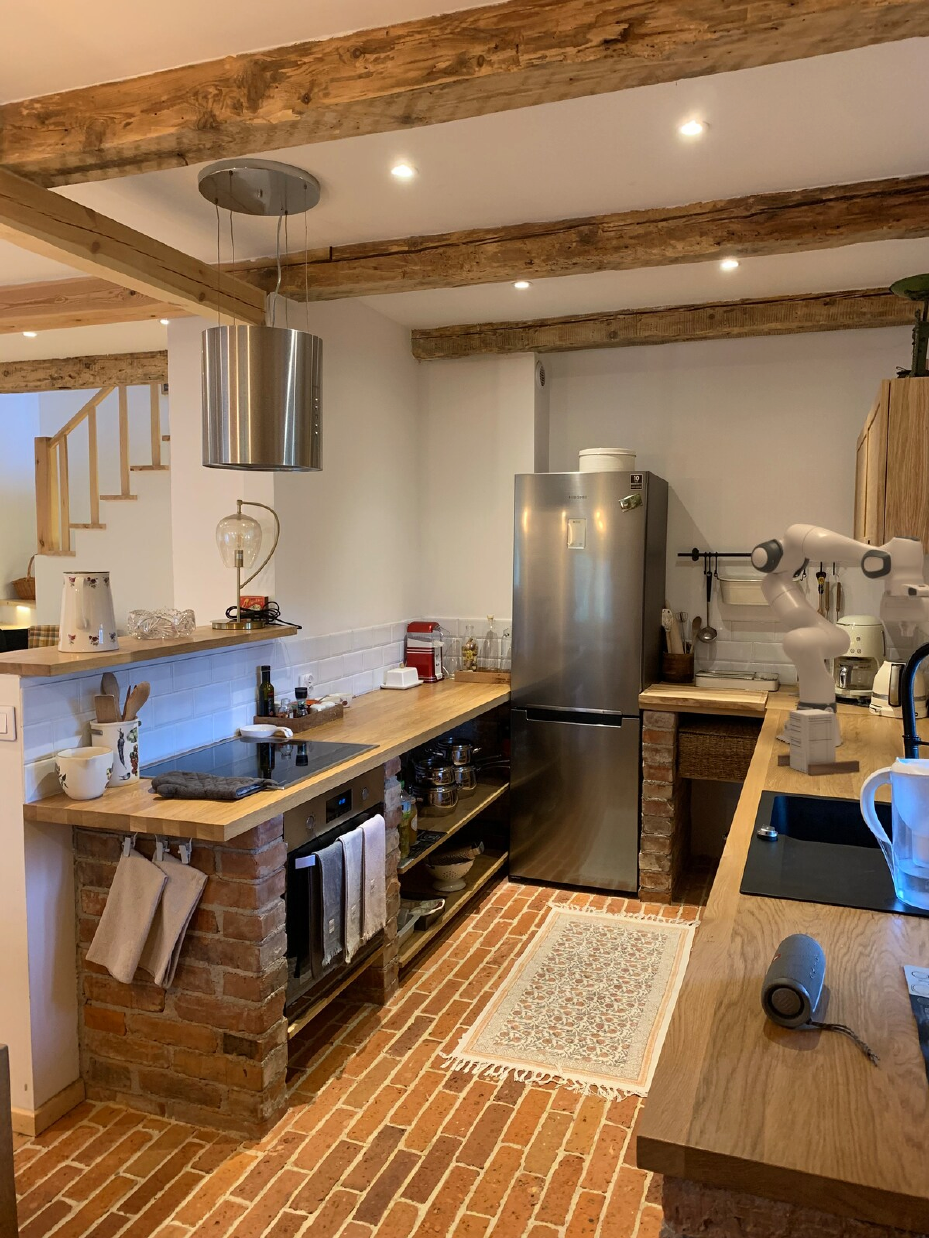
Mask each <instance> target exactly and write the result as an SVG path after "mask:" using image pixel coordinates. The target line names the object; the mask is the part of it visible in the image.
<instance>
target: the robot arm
mask: <svg viewBox="0 0 929 1238" xmlns="http://www.w3.org/2000/svg"><path fill="white" fill-rule="evenodd" d="M923 548H924V547H923V542H922V541H921V539H919V538H917V537H915V536H911V535H909V536H908V535H907V536H905V535H897V536H896V535H895V536H894V537H892V538H891V539H890V541H888V542H886V543H884V544H883V545H881V546H877V545H873V544H869V543H865V542H861V541H858V540H856V539H853V538H852V537H851V538H850V537H848V536H846V535H842V534H840V533H839V532H838V533H837V532H835V531H833V530H830V529H827V528H825V527H821V526H818V525H813V524H806V523H805V524H804V523H795V524H792V525H791V526H789V527H788V528H787V529H786V531H785V532H784V536H783V537H782V539H779V540H778V539H776V538H773V539H770V540H768V541H764V542H761V543H759V544H757V545H756V546H755V547H753V549H752V551H751V554H750V563H751V565H752V567H753V568H754V569H755V570H757V571H758V572H761V573H764V574H766V575H765V576H764V577H763V579H761V582H760V590H761V593H762V594H763V596H764V598H765V600H766V602H767V604H768V605H769V607H770V608H771V609H770V610H771V611H772V612H773V613H774V614H775V617H776V618H777V619H778V621H779V622H780V623H781V625H782V626H783V627H784V628H787V629H788V630H790V631H788V632H787V633H786V634H785V635H784V636H783V639H782V649H783V653H784V654H785V656H787V657H788V658H789V660H791V662H792V663H793V665H794V667H795V671H796V673H797V677H798V686H799V688H798V689H799V690H798V691H799V693H798V694H799V700H798V701H797V702H796V701H795V702H794V703H795V705H794V706H795V707H796V709H795V711H796V710H812V709H819V710H823V711H827V712H832V713H835V747H839V746H841V745H842V743H844V739H843V738H841V727H840V720H839V718H838V716H837V715H836V714H837V713H838V705H837V701H836V680H835V678H834V676H833V674H831V673H829V671H828V669H827V666H826V664H825V660H832V659H837V658H839V657H841V656H844V655H845V654H847V653H848V652H849V650H850V647H851V638H850V635H849V633H848V632H847V631H846V630H845V629H843V628H841V627H839V626H837V625H835V624H833V623H832V622H830V621H829V620H828V619H826V617H824V616H823V615H822V614H821V613H819V612H818V611H817V610H816V609H815V608H814V607H813V606H812V605H811V604H810V602H809V601H808V600H807V598H806V597H805V596H804V594H803V593H802V592H801V591H800V589H799V588H798V586H797V585H796V584H795V582H794V579H795V578H798V577H800V576H801V574H802V572H803V571H805V569H806V568H807V566H808V565H809V562H810V561H814V562H818V563H819V562H821V563H843V562H846V563H848V562H849V563H850V562H851V563H853V562H854V563H860V567H861V572H862V573H863V575H864V576H865V577H866V578H867V579H871V580H876V581H877V580H878V581H879V580H880V581H881V580H882V581H883V580H884V581H885V580H887V581H888V580H890V590H885V591H884V592H883V593H882V595H881V599H880V606H879V616H878V617H879V618H880V620H881V621H897V622H898V624H897V625H898V627H899V628H900V632H901V633H900V635H901V637H906V638H907V637H910V638H911V637H914V631H915V629H916V627H917V623H919V622H920V623H922V622H923V623H926V622H927V623H929V585H928V584H926V583H925V582H924V581H925V579H924V576H923V568H924V567H925V566H924V563H925V562H924V561H925V559H924V549H923ZM775 737H776V738H778V739H781V740H783V741H785V742H784V743H786V744H788V743H790V732H789V718H788V719H786V721H784V724H783V734H779V735H776V736H775ZM776 738H775V739H776ZM778 739H777V740H778ZM781 740H780V741H781ZM783 741H782V742H783Z"/></svg>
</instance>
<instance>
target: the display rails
mask: <svg viewBox="0 0 929 1238" xmlns="http://www.w3.org/2000/svg"><path fill="white" fill-rule="evenodd" d="M777 766H779V767H790V753H789V754H778V755H777ZM834 773H840V774H851V773H860V760H845V761H836V762H829V763H817V764H808V775H809V776H810V777H815V776H827V775H826V774H828V775H835V774H834Z"/></svg>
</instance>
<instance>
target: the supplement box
mask: <svg viewBox="0 0 929 1238" xmlns="http://www.w3.org/2000/svg"><path fill="white" fill-rule="evenodd" d="M788 719H789V732H790V744H789V754H790V766H789V768H790V769H793V770H796V771H798V770H799V772H801V773H804V774H806V773H808V764H817V763H829V762H837V761H836V746H835V713H832V712H827V711H823V710H819V709H812V710H796V709H795V710H789V711H788Z"/></svg>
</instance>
